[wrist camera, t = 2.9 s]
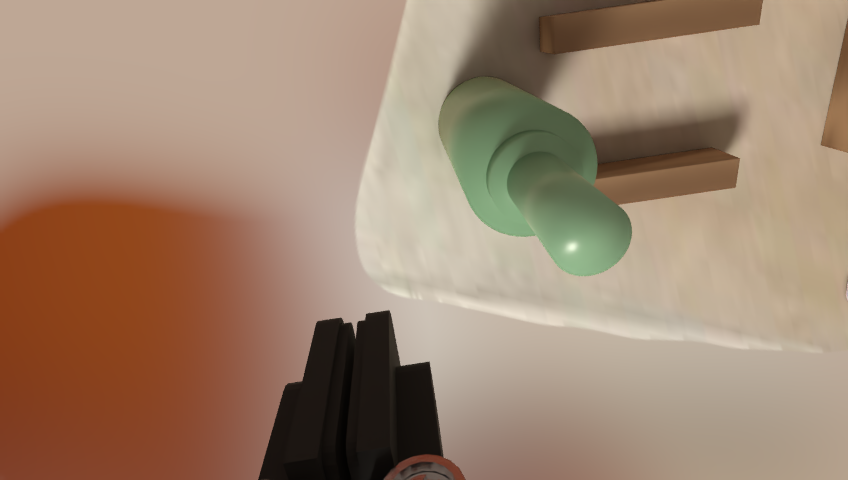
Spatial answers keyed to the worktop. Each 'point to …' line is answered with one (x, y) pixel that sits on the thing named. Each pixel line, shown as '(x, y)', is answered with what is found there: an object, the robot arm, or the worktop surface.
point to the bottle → (532, 174)
